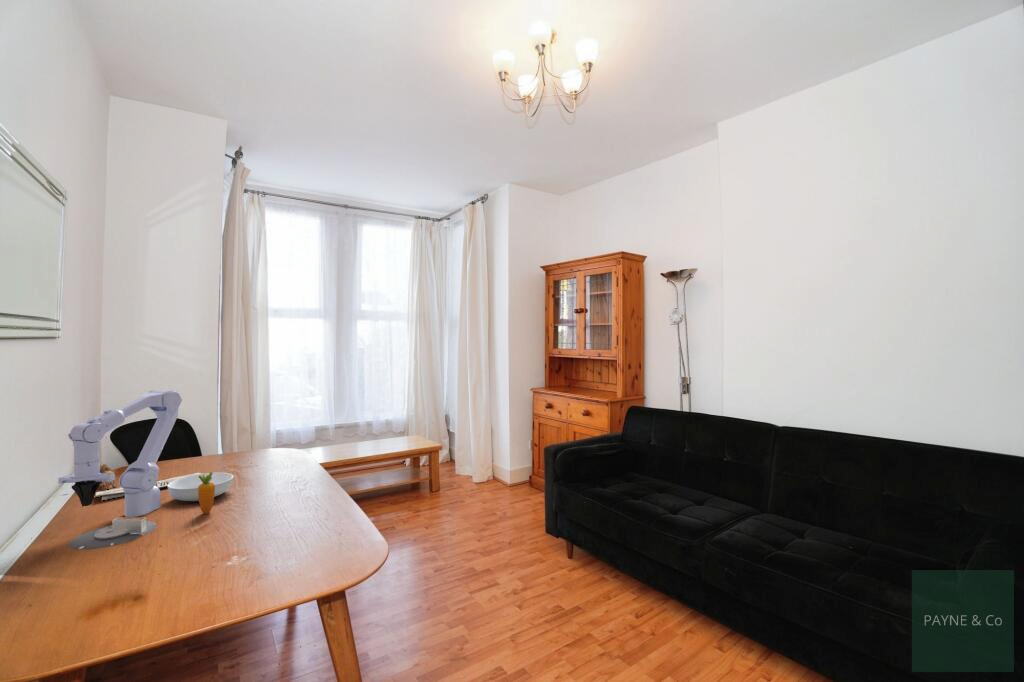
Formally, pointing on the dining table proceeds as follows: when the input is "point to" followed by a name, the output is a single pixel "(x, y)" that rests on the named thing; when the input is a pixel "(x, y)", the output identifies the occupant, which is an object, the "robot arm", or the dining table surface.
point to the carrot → (206, 493)
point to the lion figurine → (107, 470)
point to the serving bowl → (189, 486)
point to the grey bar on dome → (121, 528)
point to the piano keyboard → (120, 493)
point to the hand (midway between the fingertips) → (87, 505)
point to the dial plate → (89, 540)
